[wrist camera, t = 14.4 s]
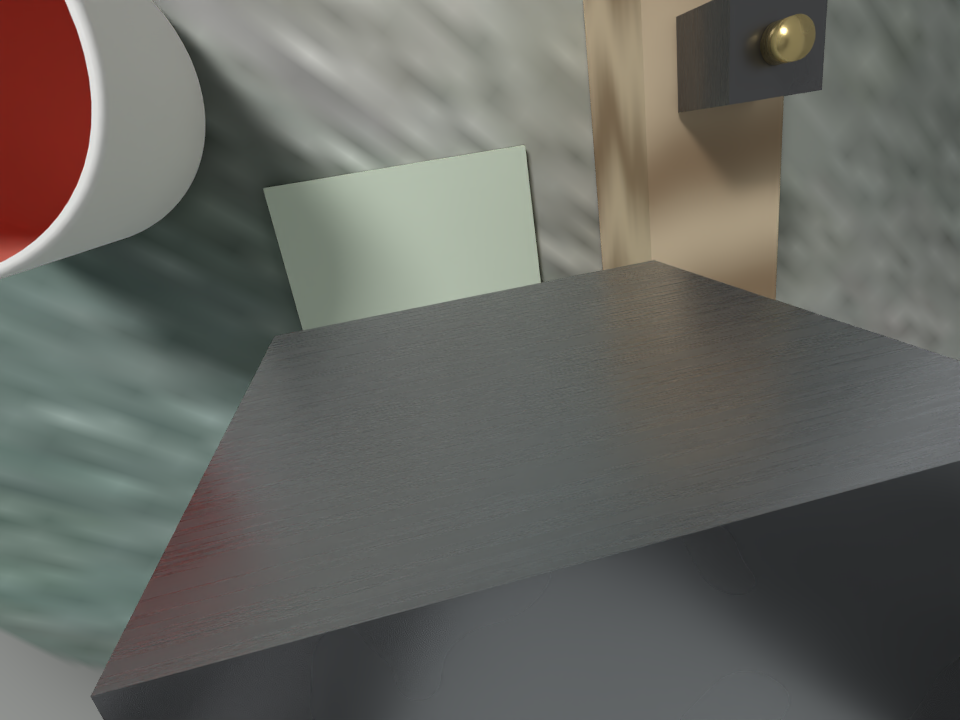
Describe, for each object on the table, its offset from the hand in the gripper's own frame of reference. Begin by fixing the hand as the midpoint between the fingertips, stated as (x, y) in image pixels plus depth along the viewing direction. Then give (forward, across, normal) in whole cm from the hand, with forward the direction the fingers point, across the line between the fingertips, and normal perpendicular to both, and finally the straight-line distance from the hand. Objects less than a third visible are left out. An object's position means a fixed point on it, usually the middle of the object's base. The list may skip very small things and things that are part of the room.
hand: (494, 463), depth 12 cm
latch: (+10, +12, +8) cm, 17 cm away
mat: (+15, 0, 0) cm, 15 cm away
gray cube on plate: (-1, 0, 0) cm, 1 cm away
